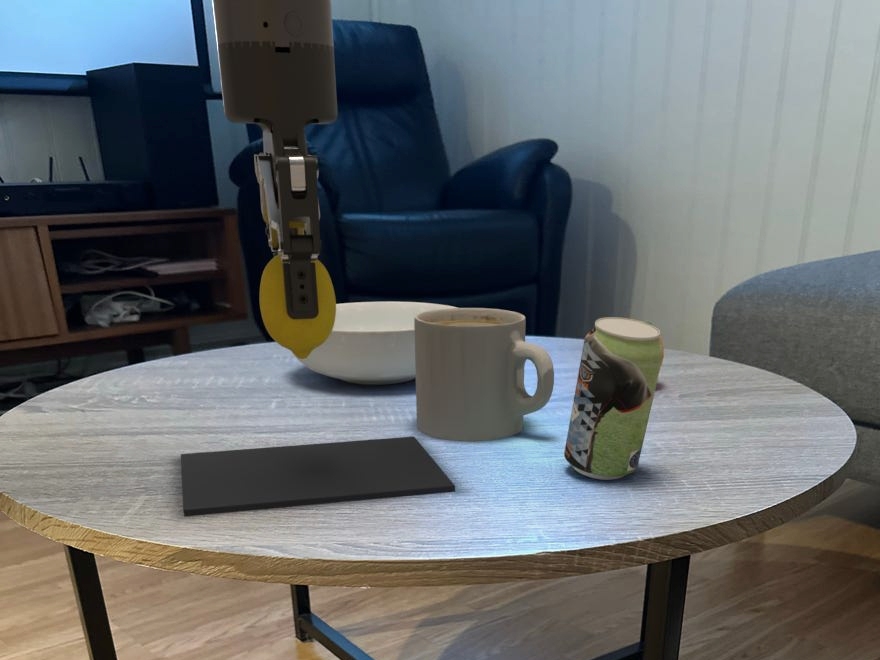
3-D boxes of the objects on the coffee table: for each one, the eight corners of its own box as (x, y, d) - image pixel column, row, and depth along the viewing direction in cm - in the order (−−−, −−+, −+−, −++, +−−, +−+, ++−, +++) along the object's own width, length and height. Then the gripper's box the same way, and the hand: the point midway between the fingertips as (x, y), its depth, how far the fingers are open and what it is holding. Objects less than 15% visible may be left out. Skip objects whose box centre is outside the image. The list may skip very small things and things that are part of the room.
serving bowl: (436, 353, 119) (435, 296, 115) (496, 389, 101) (497, 323, 98) (271, 364, 112) (265, 304, 109) (306, 405, 95) (300, 335, 92)
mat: (184, 517, 67) (183, 510, 66) (181, 460, 78) (180, 453, 78) (455, 492, 72) (455, 485, 71) (414, 442, 84) (414, 436, 83)
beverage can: (586, 457, 80) (595, 310, 74) (665, 473, 76) (681, 319, 71) (547, 475, 75) (554, 320, 70) (629, 493, 72) (643, 331, 66)
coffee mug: (395, 427, 88) (391, 316, 83) (469, 408, 94) (469, 304, 89) (499, 457, 80) (501, 336, 75) (572, 434, 86) (578, 321, 81)
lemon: (340, 365, 69) (333, 248, 65) (263, 367, 68) (251, 249, 64) (338, 350, 74) (331, 240, 70) (266, 352, 73) (255, 241, 69)
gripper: (211, 48, 66) (239, 299, 74) (222, 27, 54) (253, 330, 62) (317, 51, 68) (333, 295, 76) (350, 32, 56) (365, 325, 64)
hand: (297, 310), depth 69 cm, fingers closed on lemon, 5 cm apart
